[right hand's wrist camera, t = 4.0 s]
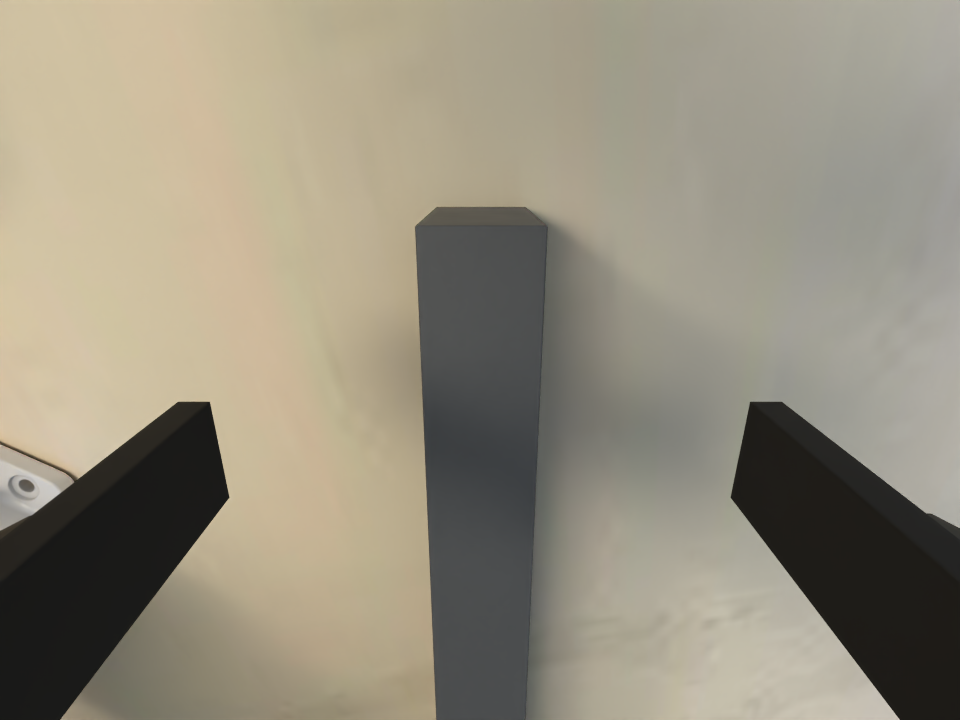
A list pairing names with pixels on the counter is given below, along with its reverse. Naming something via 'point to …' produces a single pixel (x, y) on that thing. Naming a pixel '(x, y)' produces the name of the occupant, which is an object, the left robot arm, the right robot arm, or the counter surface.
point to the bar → (481, 447)
